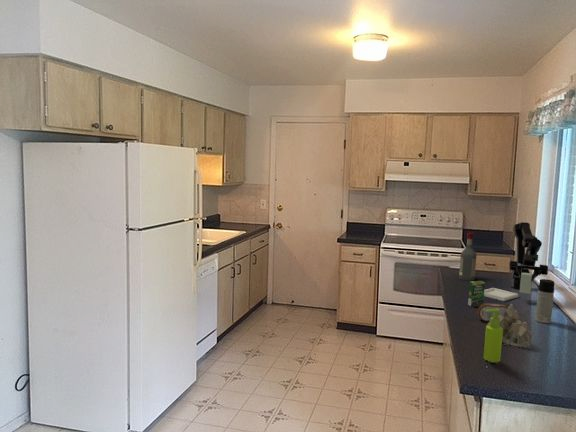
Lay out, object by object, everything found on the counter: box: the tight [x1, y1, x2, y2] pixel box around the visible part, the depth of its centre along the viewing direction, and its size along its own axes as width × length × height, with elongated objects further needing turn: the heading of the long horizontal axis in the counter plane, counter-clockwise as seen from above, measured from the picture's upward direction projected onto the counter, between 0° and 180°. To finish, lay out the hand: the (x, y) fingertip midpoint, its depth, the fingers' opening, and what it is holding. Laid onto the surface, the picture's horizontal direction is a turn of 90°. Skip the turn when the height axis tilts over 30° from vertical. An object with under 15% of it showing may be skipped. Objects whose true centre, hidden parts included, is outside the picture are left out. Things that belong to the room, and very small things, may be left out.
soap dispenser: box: [483, 309, 503, 362], centre depth 182 cm, size 6×7×20 cm
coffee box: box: [467, 280, 486, 308], centre depth 253 cm, size 8×3×13 cm, turn 107°
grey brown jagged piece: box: [484, 303, 533, 348], centre depth 204 cm, size 16×16×15 cm
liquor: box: [458, 232, 477, 282], centre depth 310 cm, size 9×9×30 cm
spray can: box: [534, 278, 555, 324], centre depth 231 cm, size 7×7×20 cm
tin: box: [476, 302, 509, 322], centre depth 229 cm, size 15×3×8 cm, turn 84°
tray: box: [484, 287, 519, 302], centre depth 274 cm, size 15×15×2 cm
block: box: [519, 272, 533, 295], centre depth 261 cm, size 5×5×10 cm
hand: (526, 280), depth 259 cm, fingers closed on block, 5 cm apart
